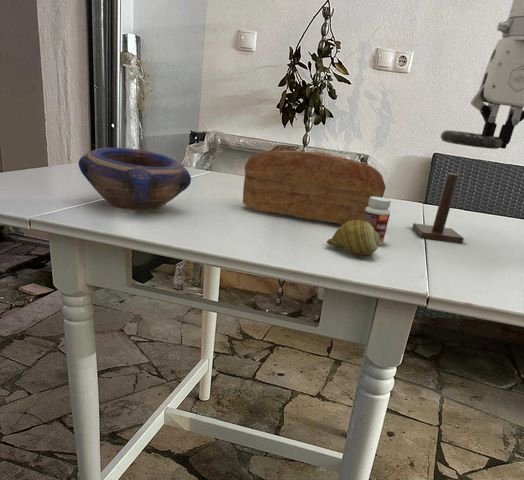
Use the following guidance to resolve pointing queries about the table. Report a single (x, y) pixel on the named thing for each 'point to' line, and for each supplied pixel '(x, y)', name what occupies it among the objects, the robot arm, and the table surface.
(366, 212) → the pill bottle
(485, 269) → the table surface
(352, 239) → the seashell
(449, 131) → the ring
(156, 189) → the bowl
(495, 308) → the table surface
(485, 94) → the robot arm
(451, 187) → the stand
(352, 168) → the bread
